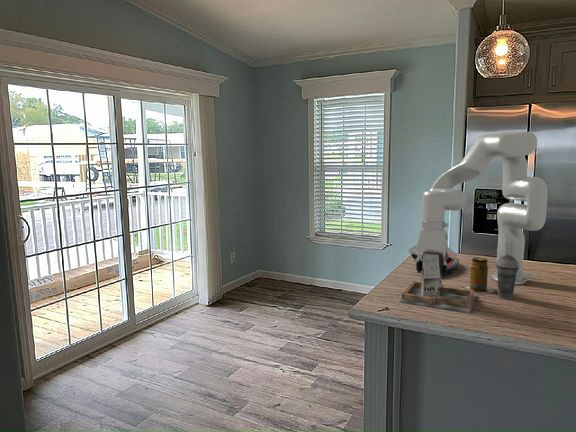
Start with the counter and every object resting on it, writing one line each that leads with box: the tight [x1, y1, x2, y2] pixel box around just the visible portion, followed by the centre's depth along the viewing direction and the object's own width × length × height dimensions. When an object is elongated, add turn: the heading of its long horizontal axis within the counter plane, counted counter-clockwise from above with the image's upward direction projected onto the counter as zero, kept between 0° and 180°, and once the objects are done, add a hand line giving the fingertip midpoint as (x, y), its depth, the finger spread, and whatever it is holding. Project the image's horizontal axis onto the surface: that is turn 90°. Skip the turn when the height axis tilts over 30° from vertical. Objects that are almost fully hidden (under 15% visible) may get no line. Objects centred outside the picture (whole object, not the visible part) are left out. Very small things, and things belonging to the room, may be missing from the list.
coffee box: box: [420, 252, 443, 297], centre depth 155 cm, size 9×6×16 cm
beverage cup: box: [495, 243, 519, 300], centre depth 155 cm, size 7×7×20 cm
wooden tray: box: [399, 280, 477, 314], centre depth 155 cm, size 23×19×3 cm
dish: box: [442, 253, 460, 275], centre depth 193 cm, size 16×31×5 cm, turn 141°
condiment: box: [463, 257, 495, 295], centre depth 164 cm, size 7×8×12 cm
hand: (431, 273), depth 155 cm, fingers closed on coffee box, 7 cm apart
